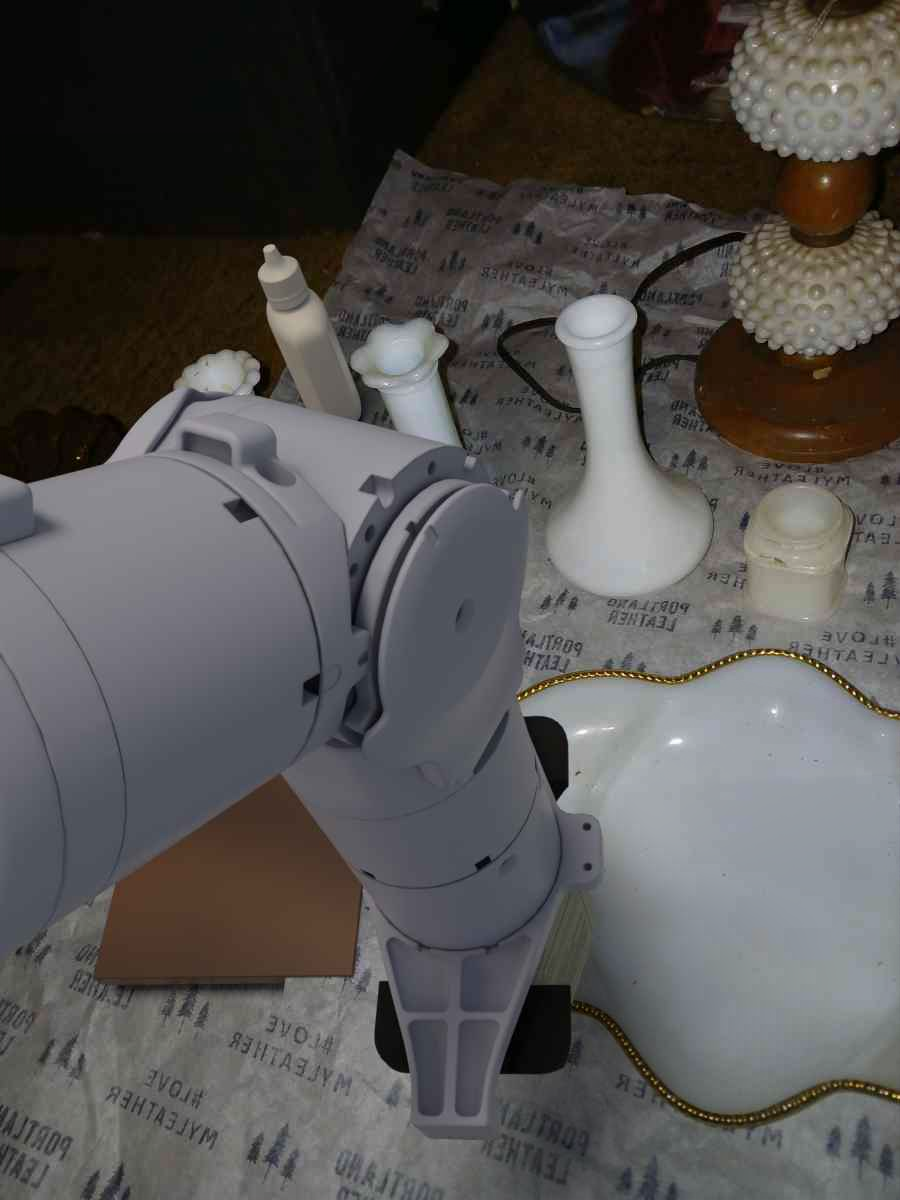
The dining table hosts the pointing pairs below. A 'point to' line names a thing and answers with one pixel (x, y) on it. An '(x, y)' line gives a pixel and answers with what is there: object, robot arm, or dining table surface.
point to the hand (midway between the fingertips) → (514, 954)
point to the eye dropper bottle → (307, 338)
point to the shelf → (237, 902)
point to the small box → (567, 943)
